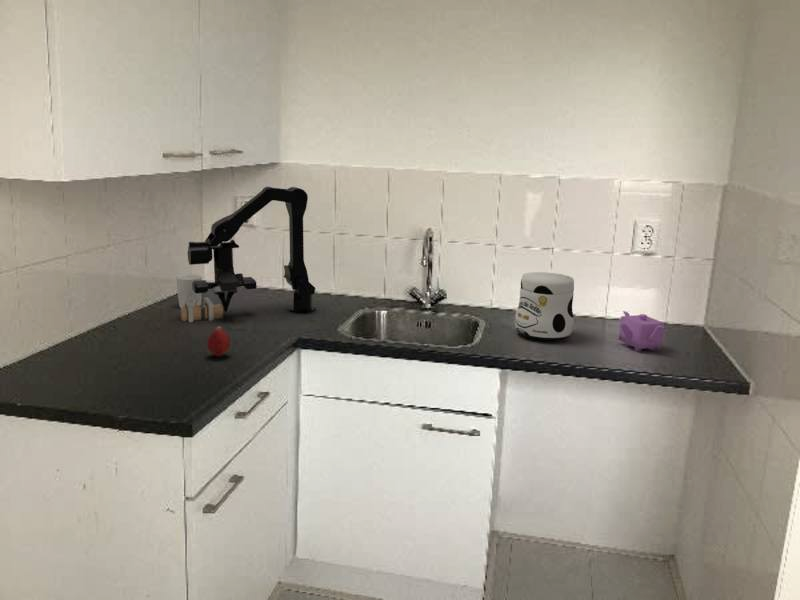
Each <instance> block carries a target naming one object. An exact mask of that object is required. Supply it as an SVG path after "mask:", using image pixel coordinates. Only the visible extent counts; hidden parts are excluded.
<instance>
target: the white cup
mask: <svg viewBox="0 0 800 600" xmlns="http://www.w3.org/2000/svg"><path fill="white" fill-rule="evenodd" d="M175 278H176V287H177V288H176V289H177V291H176V292H177V298H178V306H179V309H181V307H185V304H184V299H189V300H190V302H191V303H192V305H193V306H194V299H197V301H198V303H197V306H199V305H202V293H195V292H194V291H193V290H192V283H193V282H194V281H200V280H203V277H202V275H201V274H190V273H189V274H180V275H178V276H176V277H175Z"/></svg>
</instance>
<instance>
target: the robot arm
mask: <svg viewBox="0 0 800 600" xmlns="http://www.w3.org/2000/svg"><path fill="white" fill-rule="evenodd" d="M308 199H309V197H308V193H307V192H306V191H305V190H304V189H302V188H299V187H296V186H291V187H288V188H279V187H271V186H265V187H263V189H262V190H261V191H260V192H258V193H257V194H256V195H254V196H253V197H252V198H250V200H248V201H247V202H245V204H243V205H242V206H241V207H239V208H238V209H237V210H235V211H234V212H233V213H231V214H229V215H226V216H224V217H222V218H220V219H218V220H217V221H215V222H213V223H212V225H211V229H210V230H211V231H210V233H209V234H208V235H207V237H206V238H205V240H204V241H189V242H188V247H187V254H186V255H187V261H188V265H190V266H193V265H206V264H207V265H208V264H209V263H210V262H212V261H213V269H214V270H213V271H214V282H208V281H206V280H205V279H204V280H203V279H202V280H200V281H194V282H193V283H192V290H193V291H194V292H195V293H201V294H206V293H207V292H208V291H209V290H211V292H212V293H213V294H214V295H217V297H218V299H219V301H220V303H221V305H222V307H223V311H224V313H227V312H228V310H229V306H230V304H231V301H232V298H233V296H234V294H236V293H238V288H239V287H244V288H245V290H253V289H254V290H255V289H257V281H256V279H254V278H253V277H252V276H245V277H244V275H243V273H235V268H234V257H233V256H234V254H233V253H234V252H233V250H234V249H239V248H240V245H238V244H237V243H236V241H235V240H234V239H233V237H234V236H235V235H236V234H237V233H238V232H239V231H240V229H241V227H242V225H244V224H245V223H246V222H247V221H248V220H249V219H251V218H253V216H255V215H256V214H257V213H258V212H260V211H261V210H262V209H263V208H264V207H266V206H267V205H268V204H269V203H271V202H272V201H276V202H282V203H285V207H286V210H287V213H288V219H289V222H288V223H289V227H288V228H289V262H288V264H287V265H286V264H284V265H283V268H284V274H283V278H284V279H285V281H286V283H287V284H288V285H289V286H291V289H292V290H293V300H292V301H293V303H292V306H293V307H292V308H290V309H289V312H296V313H302V314H309V313H310V312H313V311H315V310H317V307H313V295H314V294H315V292H316V287H315V286H314V285H313V284H312V283H311V282H310V281H309V280H310V279H309V275H308V269H307V266H306V264H305V258H304V257H305V256H304V254H305V251H304V249H305V248H304V215H305V213H306V210H307V205H308Z"/></svg>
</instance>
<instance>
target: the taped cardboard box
mask: <svg viewBox="0 0 800 600" xmlns="http://www.w3.org/2000/svg"><path fill="white" fill-rule="evenodd" d="M223 311H224V309H223V306H222V304H220V303H217V304H214V303H213V320H216V319H223V318H224V315H223V314H224V312H223ZM180 319H181V321H182V322H188V306H186V307H181V308H180ZM202 320H204V321H205V320H209V312H208V305H204V304H203V305H202V304H201V305H199V306H193V321H202Z"/></svg>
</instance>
